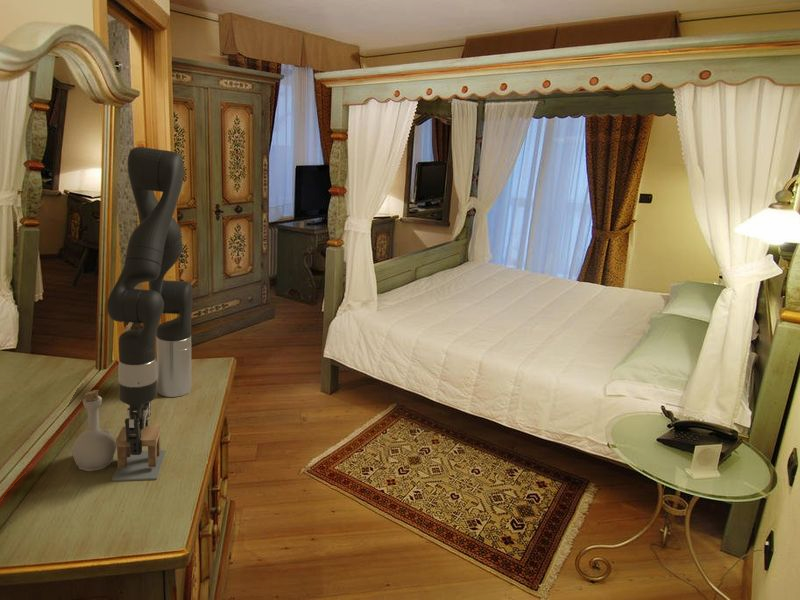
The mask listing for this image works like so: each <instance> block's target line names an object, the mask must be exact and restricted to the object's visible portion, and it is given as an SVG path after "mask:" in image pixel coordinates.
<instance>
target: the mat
mask: <svg viewBox="0 0 800 600" xmlns="http://www.w3.org/2000/svg"><path fill="white" fill-rule="evenodd" d="M166 452H167V451H166V450H161V449H160V455H159V456H158V457H157V465H156V467H148V450H142V453H141V454H140V455H131V456H130V457H127V465H126V468H118V466H117V468H116V469H115V472H114V474H113V475H112V479H111V482H130V481H131V482H132V481H134V482H135V481H150V480H151V481H156V480H157V479H158V477H159V474H160V470H161V467H162V464H163V461H164V458H165V455H166Z"/></svg>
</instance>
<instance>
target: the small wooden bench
mask: <svg viewBox="0 0 800 600" xmlns="http://www.w3.org/2000/svg"><path fill="white" fill-rule="evenodd" d="M161 432H162V426H161V425H148V426H145V428H144V429H143V430H142V447H147V451H148V467H156V465H157V457H158V456H159V455H160V450H161ZM132 435H136V434H132ZM115 441H116V450H117V451H116V452H117V455H116V456H117V467H118V468H126V465H127V457H130V456H131V453H130V442H127V441H126V428H125V426H122V428H121V430H120V431H119V433H118V436H117V437H116V440H115Z"/></svg>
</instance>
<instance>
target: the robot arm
mask: <svg viewBox="0 0 800 600" xmlns="http://www.w3.org/2000/svg"><path fill="white" fill-rule="evenodd" d="M183 160H184V159H183V157H182V155H181V154H180V153H178V152H175V151H170V150H164V149H159V148H158V149H156V148H152V147H143V146H142V147H141V146H138V147H137V146H135V147H133V148H132V149H131V150H130V151H129V153H128V157H127V173H128V179H129V182H130V188H131V190H132V191H131V192H132V194H133V199H134V202H135V206H136V210H137V214H138V215H137V216H138V221H139V222H138V223H139V224H138V225H137V226H136V228H135V229H134V230H133V231H132V233H131V235H130V237H129V239H128V243H127V247H126V253H125V259H124V265H123V268H122V270H121V272H120V274H119V276H118V279H117V281H116V282H115V284H114V286H113V288H112V290H111V292H110V294H109V295H108V298H107V301H106V312H107V314H108V316H109V317H110V319H111V320H113V321H115V322H119V323H133V324H134V323H135V324H142V326H143V327H142V328H137V329H131V330H126V331H124V332H122V333H121V334H120V335H119V337H118V368H117V374H118V375H117V376H118V379H117V380H118V398H119V400H120V401H121V402H122V403H123V404H126V405H128V406H129V407H128V408H127V409H126V416H127V417H126V418H125V420H124V425H125V426H124V427H125V428H126V441H127V442H130V453H131V455H140V454H141V453H142V451H143V446H142V430H143V429H144V428H145V426H149V423H150V417H151V415H152V412H151V411H152V410H151V409H152V404H151V403H152V401H153V400H155V399H156V398H157V396H158V394H159V395H160V396H162V397H167V398H174V397H175V398H177V397H181V396H184V395H185V396H186V395H187V394H189V393H191V390H192V310H193V299H194V298H193V297H194V296H193V295H194V294H193V293H194V292H193V286H192V284H191V282H189V281H186V280H185V281H184V280H164V277H165V276H166V274H167V273H168V272H169V270H170V269H171V268H172V267H173V266H174V265H175V264H176V263H177V262H178V261H179V259H180V257H181V256H182V253H183V239H182V230H181V227H180V225H179V223H178V221H176V219H175V218H174V213H175V210H176V207H177V204H178V200H179V196H180V194H181V190H182V186H183V181H184V176H185V166H184V161H183ZM154 192H160V193H162V194H161V196H160V198H159V200H158V199H157V197H156V194H155V193H154ZM147 282H148V289H142V288H141V289H140V288H138V289H137V288H136V287H137V286H138V285H139V284H141V283H147ZM163 314H167V315H169V314H170V315H171V314H172V315H174V314H175V315H178V316H177V317H176V318H173V319H170V320H168V321H165V322H161V323H160V321H161V318H162V316H163ZM132 434H136V435H132Z"/></svg>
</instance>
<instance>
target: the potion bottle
mask: <svg viewBox="0 0 800 600" xmlns="http://www.w3.org/2000/svg"><path fill="white" fill-rule="evenodd" d="M84 396H85V397H84V398H82V403H83V407H84V408H85V409H86V411H87V412H86V413H87V428H88V430H85V431H83V432H82V433H80V434H79V435H78V436H77V437H76V439H75V441H74V442H73V444H72V448H71V454H72V457H73V460H74V461H75V462H74V463H75V464H76V466H78V468H79V470H81V471H85V472H90V473H91V472H95V471H101V470H103V469H105V468H107V467H109V466H110V465H111V464H112V461H113V460H114V457H115V454H116V450H117V447H116V440H115V439H116V438H115V437H114V436H113V435H112V433H110V431H109V430H107V429H105V428H100V417H99V415H100V413H99V408H100V407H101V405H102V402H103V397H101V396H100V395H99V389H95V390H94V389H93V390H91V391H90V390H89V391H88V392H86V393H84Z"/></svg>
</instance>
